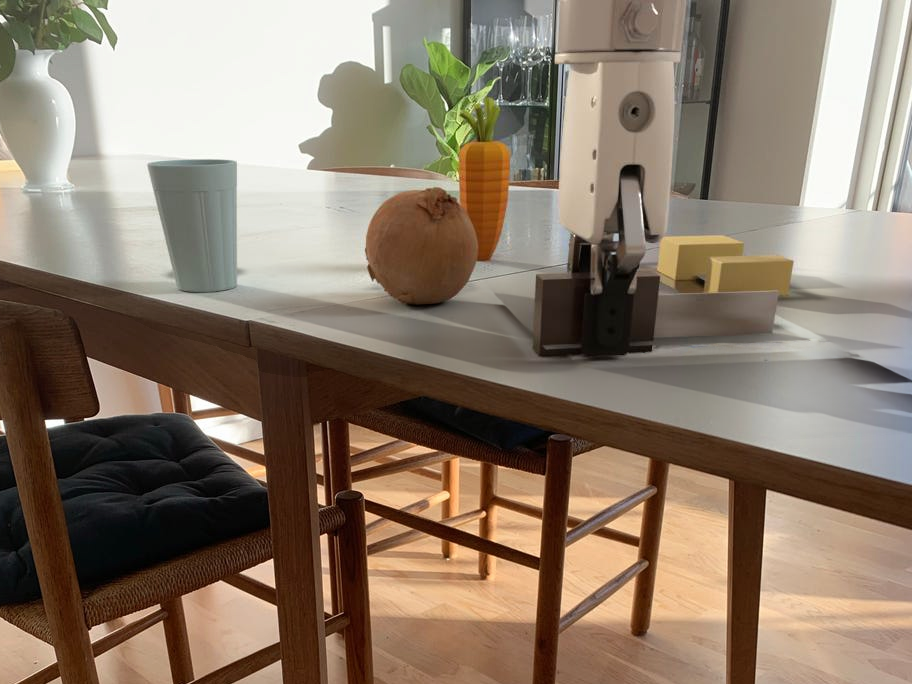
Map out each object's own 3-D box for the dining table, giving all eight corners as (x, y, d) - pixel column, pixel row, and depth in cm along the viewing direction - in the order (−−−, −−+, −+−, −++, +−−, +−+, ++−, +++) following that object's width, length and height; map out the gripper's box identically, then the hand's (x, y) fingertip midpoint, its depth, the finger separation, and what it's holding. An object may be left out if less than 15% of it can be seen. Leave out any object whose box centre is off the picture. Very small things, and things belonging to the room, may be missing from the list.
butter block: (718, 269, 89) (723, 235, 88) (739, 278, 85) (744, 242, 84) (657, 271, 89) (660, 236, 87) (675, 280, 84) (679, 244, 83)
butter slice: (771, 292, 79) (777, 254, 78) (787, 299, 77) (794, 260, 75) (702, 295, 79) (707, 256, 77) (716, 302, 76) (722, 262, 75)
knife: (762, 340, 68) (775, 266, 66) (776, 347, 66) (789, 271, 64) (532, 348, 67) (535, 273, 64) (539, 356, 65) (543, 279, 62)
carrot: (481, 273, 93) (484, 97, 85) (448, 267, 96) (448, 97, 88) (517, 267, 96) (523, 97, 88) (483, 262, 99) (486, 96, 91)
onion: (459, 342, 81) (501, 235, 74) (352, 316, 78) (385, 202, 71) (452, 281, 87) (490, 177, 80) (352, 255, 84) (382, 144, 77)
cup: (175, 279, 91) (159, 158, 86) (255, 279, 91) (243, 158, 86) (156, 295, 85) (136, 165, 79) (241, 294, 85) (228, 165, 79)
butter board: (726, 274, 91) (727, 266, 91) (813, 313, 76) (814, 303, 75) (635, 277, 90) (636, 268, 90) (705, 317, 75) (706, 306, 74)
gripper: (734, 28, 50) (688, 376, 59) (636, 41, 64) (612, 319, 73) (595, 29, 49) (571, 381, 58) (528, 41, 63) (517, 322, 73)
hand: (594, 343), depth 66 cm, fingers open, 4 cm apart
